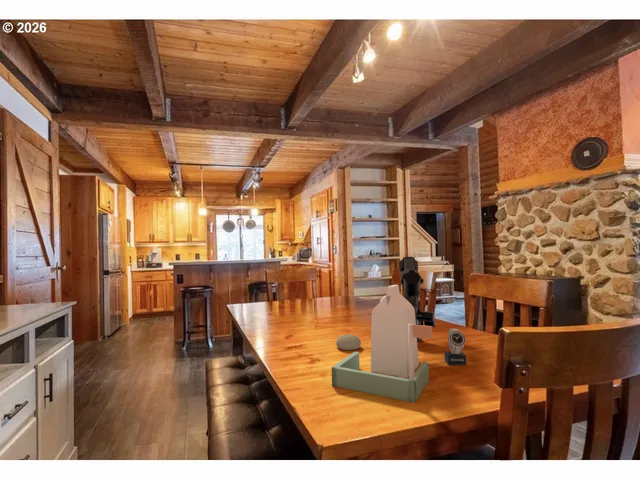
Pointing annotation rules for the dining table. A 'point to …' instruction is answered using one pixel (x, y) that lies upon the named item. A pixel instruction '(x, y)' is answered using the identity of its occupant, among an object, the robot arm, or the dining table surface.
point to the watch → (455, 348)
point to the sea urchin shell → (348, 342)
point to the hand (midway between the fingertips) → (402, 338)
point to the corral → (385, 385)
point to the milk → (392, 335)
